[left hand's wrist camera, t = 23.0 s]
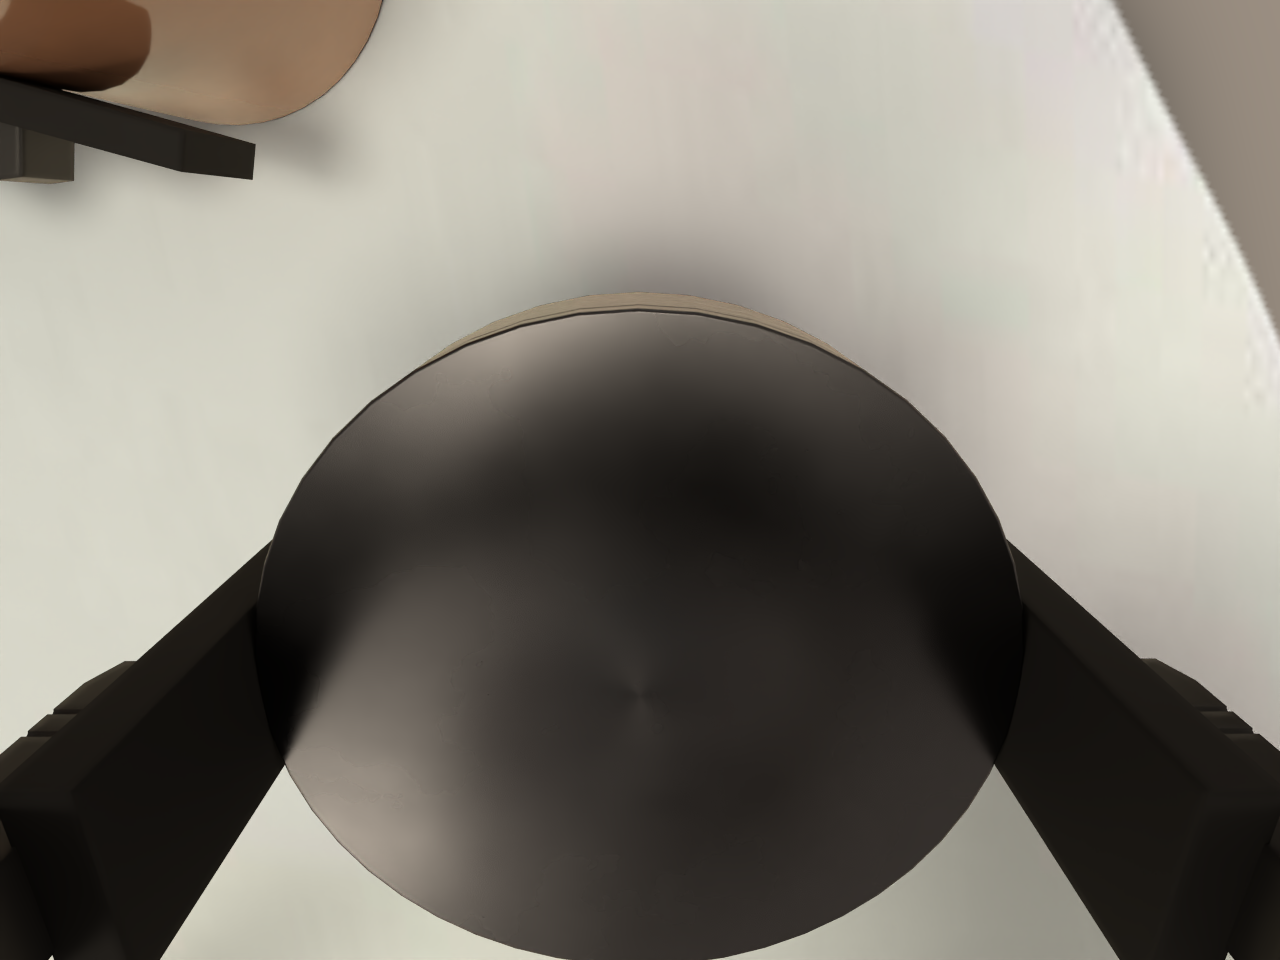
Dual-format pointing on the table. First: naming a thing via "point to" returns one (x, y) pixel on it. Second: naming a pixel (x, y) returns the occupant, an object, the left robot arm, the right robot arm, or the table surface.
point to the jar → (187, 52)
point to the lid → (639, 632)
